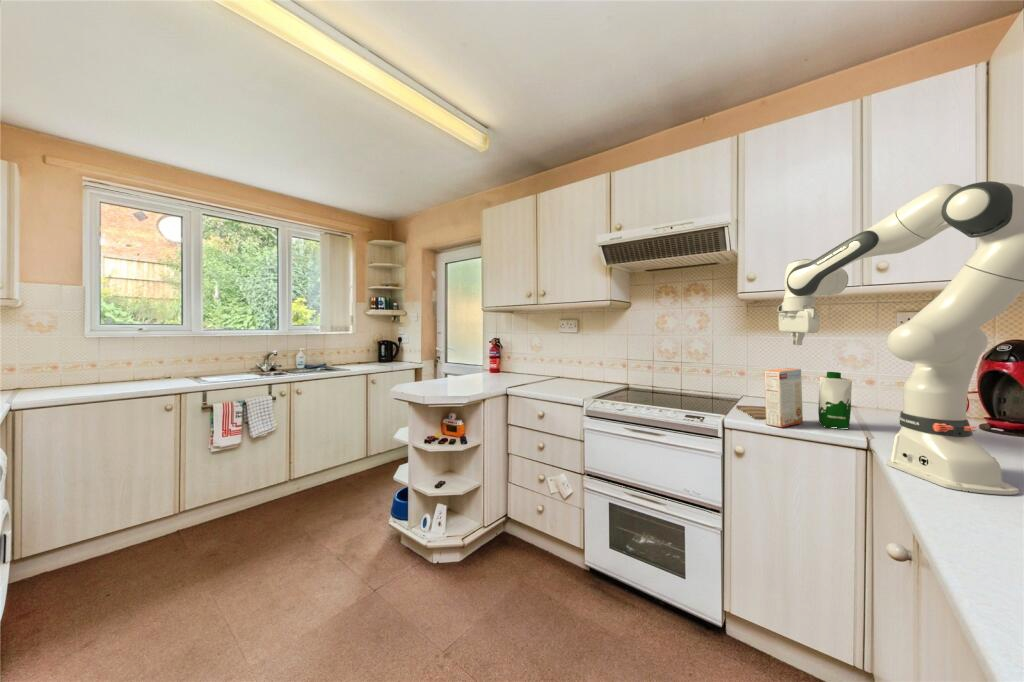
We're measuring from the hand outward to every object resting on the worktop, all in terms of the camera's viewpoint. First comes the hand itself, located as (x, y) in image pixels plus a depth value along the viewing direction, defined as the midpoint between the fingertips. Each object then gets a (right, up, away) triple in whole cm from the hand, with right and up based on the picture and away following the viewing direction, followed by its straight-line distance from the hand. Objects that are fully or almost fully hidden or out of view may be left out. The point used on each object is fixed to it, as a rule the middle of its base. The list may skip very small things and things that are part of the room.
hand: (797, 345), depth 134 cm
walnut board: (+5, -30, +24) cm, 38 cm away
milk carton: (+17, -31, +5) cm, 35 cm away
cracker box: (+1, -30, +8) cm, 31 cm away
